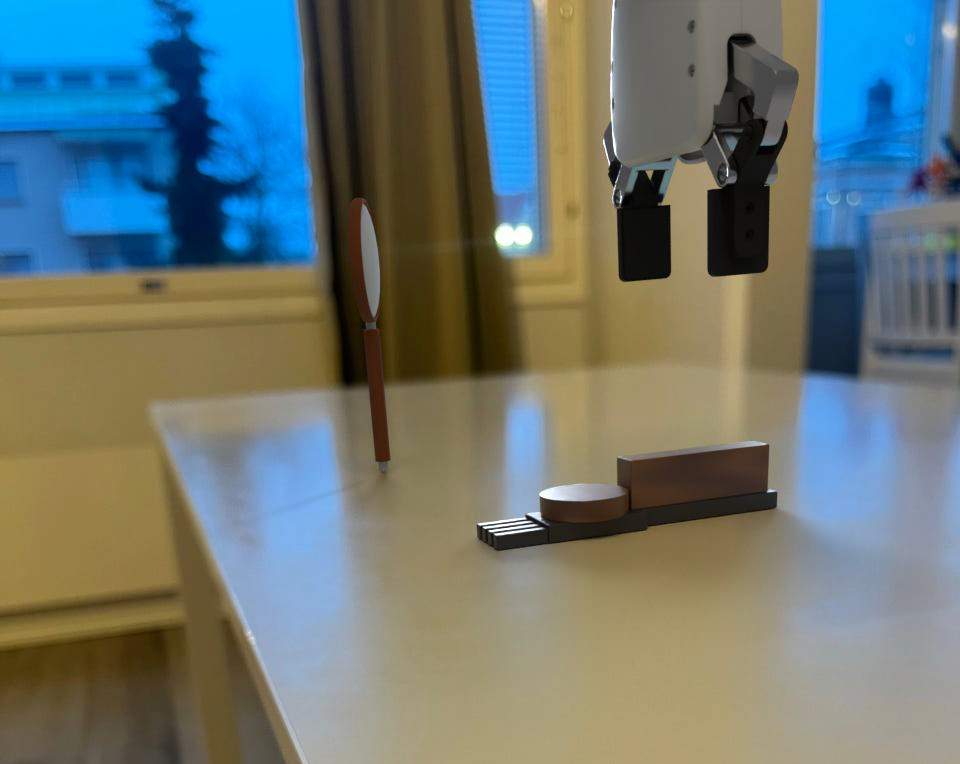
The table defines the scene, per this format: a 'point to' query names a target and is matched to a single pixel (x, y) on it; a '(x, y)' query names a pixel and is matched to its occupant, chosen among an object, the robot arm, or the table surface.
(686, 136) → the robot arm
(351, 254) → the magnifying glass
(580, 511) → the brown disc and block
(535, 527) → the fork
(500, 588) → the table surface
